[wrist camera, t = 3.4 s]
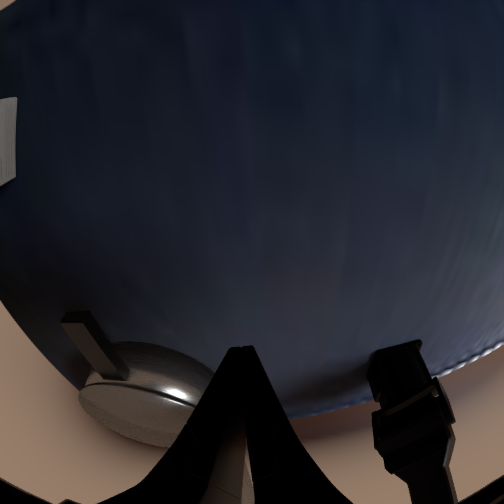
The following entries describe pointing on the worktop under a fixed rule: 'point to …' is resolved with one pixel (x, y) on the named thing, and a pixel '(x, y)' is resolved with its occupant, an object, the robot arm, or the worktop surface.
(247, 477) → the lid
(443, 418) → the robot arm
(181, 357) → the cooker pot
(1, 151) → the supplement box
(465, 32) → the worktop surface
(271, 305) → the worktop surface
